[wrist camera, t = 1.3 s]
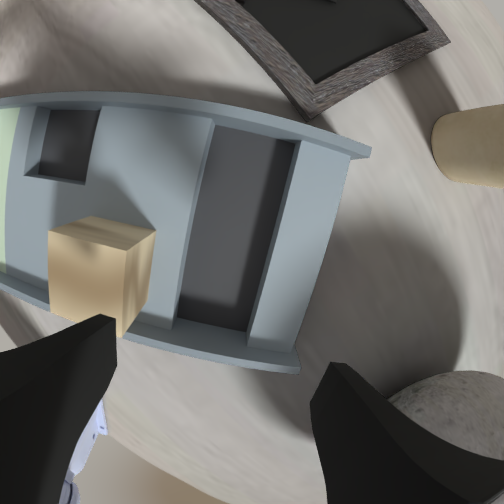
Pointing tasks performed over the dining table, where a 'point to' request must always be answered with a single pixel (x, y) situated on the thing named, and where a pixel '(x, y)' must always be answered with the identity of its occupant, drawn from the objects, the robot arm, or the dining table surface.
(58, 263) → the maple block
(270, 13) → the picture frame
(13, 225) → the tray
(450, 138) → the candle
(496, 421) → the moon model
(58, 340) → the robot arm
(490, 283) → the dining table surface
